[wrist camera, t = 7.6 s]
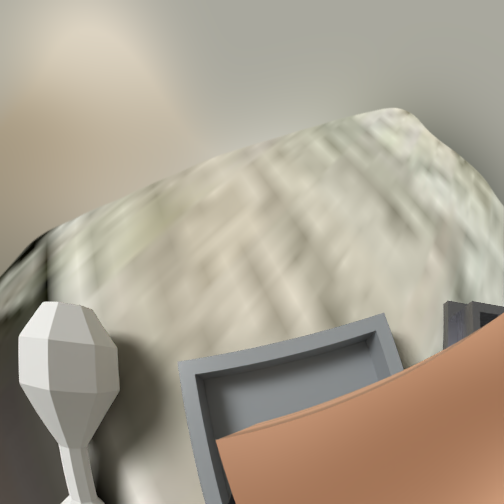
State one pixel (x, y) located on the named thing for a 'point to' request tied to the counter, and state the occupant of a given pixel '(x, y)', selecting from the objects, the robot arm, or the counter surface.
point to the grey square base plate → (466, 319)
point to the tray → (277, 386)
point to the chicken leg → (69, 384)
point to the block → (387, 438)
